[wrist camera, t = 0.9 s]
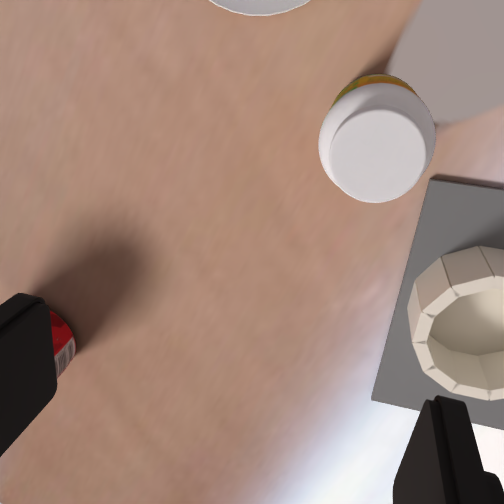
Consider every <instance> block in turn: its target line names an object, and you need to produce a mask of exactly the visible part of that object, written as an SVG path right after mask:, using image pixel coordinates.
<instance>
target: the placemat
mask: <svg viewBox="0 0 504 504" xmlns="http://www.w3.org/2000/svg"><path fill="white" fill-rule="evenodd" d="M475 246H478V247H479V246H484V247H491V248H497V249H503V250H504V189H500V188H493V187H486V186H479V185H472V184H465V183H458V182H451V181H444V180H437V179H430V180H429V184H428V187H427V191H426V195H425V199H424V202H423V206H422V210H421V213H420V217H419V221H418V225H417V228H416V232H415V236H414V240H413V243H412V247H411V251H410V254H409V258H408V262H407V266H406V269H405V273H404V277H403V281H402V284H401V288H400V292H399V295H398V299H397V303H396V307H395V310H394V314H393V318H392V322H391V325H390V329H389V333H388V336H387V340H386V344H385V348H384V351H383V355H382V359H381V362H380V366H379V370H378V374H377V377H376V381H375V385H374V389H373V392H372V396H371V400H373V401H378V402H382V403H387V404H391V405H395V406H400V407H404V408H409V409H413V410H417V411H421V409H422V407H423V404H424V402H425V400H426V399H428V400H434V398H435V397H436V395H440V396H444V397H448V398H452V399H456V400H460V401H464V402H465V404H466V406H467V410H468V413H469V417H470V421H471V423H474V424H479V425H483V426H488V427H492V428H496V429H501V430H504V399H498V400H492V401H490V399H489V400H488V401H487V400H483V399H478V398H473V397H469V396H464V395H460V394H455V393H452V392H449V391H448V390H447V389H445V388H444V387H443V386H441V385H440V384H439V383H437V382H436V381H435V380H433V379H432V378H431V377H429V376H428V375H427V374H425V373H424V371H423V370H422V368H421V365H420V362H419V360H418V357H417V355H416V352H415V349H414V347H413V344H412V338H411V331H410V324H409V317H408V310H407V306H408V303H409V299H410V296H411V292H412V289H413V285H414V281H415V280H416V278H417V277H418V276H419V275H420V274H422V273H423V272H424V271H425V270H426V269H427V268H428V267H429V266H430V265H431V264H433V263H434V262H435V261H436V260H437V259H438V258H439V257H441V258H442V256H443V255H446V254H450V253H454V252H457V251H461V250H464V249H468V248H471V247H475Z"/></svg>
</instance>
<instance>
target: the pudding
mask: <svg viewBox="0 0 504 504" xmlns="http://www.w3.org/2000/svg"><path fill="white" fill-rule="evenodd" d="M209 1H211V2H212V3H214V4H215V5H217V6H219V7H222V8H224V9H226V10H229V11H231V12H234V13H239V14H244V15H249V16H269V15H274V14H279V13H284V12H287V11H290V10H292V9H295V8H297V7H300V6H302V5H304V4H306V3H307V2H309V1H310V0H209Z"/></svg>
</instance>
